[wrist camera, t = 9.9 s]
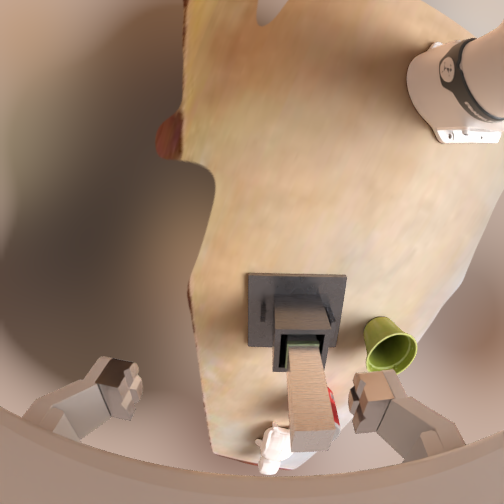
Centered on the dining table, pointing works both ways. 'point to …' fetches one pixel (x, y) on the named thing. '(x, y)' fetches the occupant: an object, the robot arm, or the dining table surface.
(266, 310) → the stand
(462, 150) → the dining table surface
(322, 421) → the column
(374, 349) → the plant pot
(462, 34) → the dining table surface
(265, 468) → the white molar tooth
